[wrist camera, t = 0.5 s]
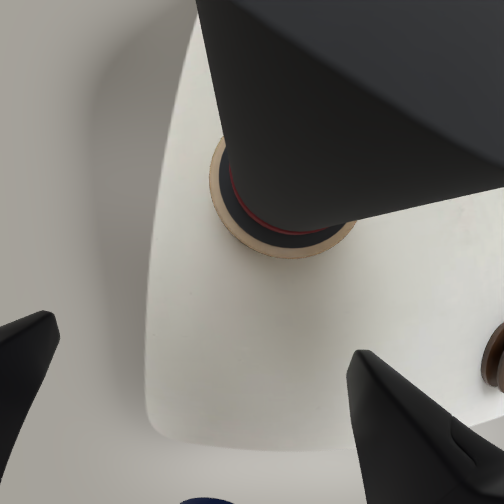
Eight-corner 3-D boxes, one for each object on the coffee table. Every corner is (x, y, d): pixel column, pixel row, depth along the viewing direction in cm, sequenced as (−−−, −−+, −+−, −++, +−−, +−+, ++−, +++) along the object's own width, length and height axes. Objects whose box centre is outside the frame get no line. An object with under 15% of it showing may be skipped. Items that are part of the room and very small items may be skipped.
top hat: (358, 249, 17) (618, 258, 2) (218, 247, 17) (29, 261, 2) (352, 119, 17) (502, -55, 2) (221, 112, 17) (177, -130, 2)
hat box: (344, 256, 21) (367, 259, 17) (215, 255, 21) (207, 258, 17) (341, 135, 21) (360, 112, 17) (218, 130, 21) (212, 104, 17)
